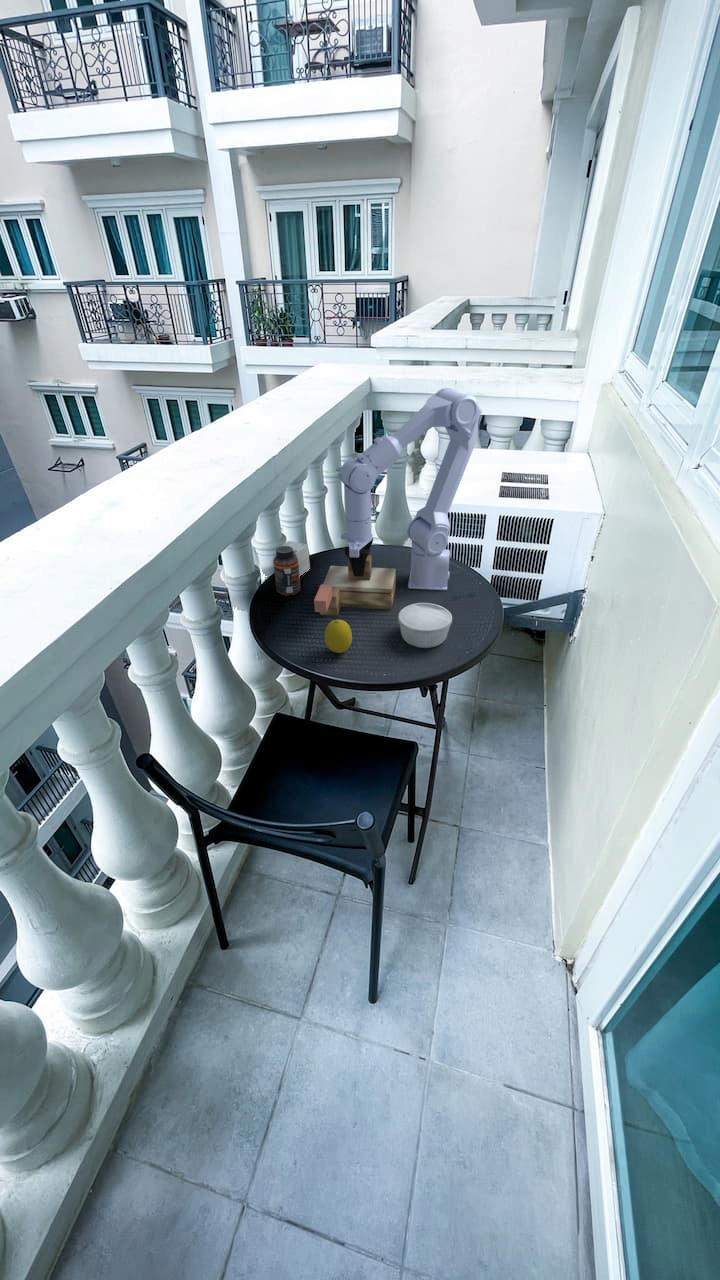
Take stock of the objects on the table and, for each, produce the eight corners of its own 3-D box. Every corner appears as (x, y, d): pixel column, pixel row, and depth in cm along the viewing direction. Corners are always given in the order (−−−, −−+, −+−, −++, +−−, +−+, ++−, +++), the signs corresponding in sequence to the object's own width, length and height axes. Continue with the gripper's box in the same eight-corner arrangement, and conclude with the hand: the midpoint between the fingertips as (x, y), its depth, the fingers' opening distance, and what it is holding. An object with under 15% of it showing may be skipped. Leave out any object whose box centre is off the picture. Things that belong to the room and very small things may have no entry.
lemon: (349, 661, 110) (348, 628, 105) (323, 659, 110) (320, 626, 106) (355, 646, 114) (353, 613, 109) (329, 643, 115) (326, 611, 110)
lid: (395, 572, 131) (396, 549, 128) (391, 592, 123) (392, 569, 120) (330, 569, 133) (329, 546, 130) (322, 589, 125) (320, 565, 122)
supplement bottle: (296, 598, 131) (292, 555, 125) (273, 596, 132) (267, 553, 126) (303, 586, 136) (300, 544, 129) (281, 584, 137) (276, 543, 130)
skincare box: (290, 565, 146) (288, 540, 141) (310, 569, 143) (308, 543, 139) (278, 575, 141) (275, 549, 137) (299, 579, 139) (296, 553, 135)
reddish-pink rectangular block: (332, 596, 121) (332, 584, 119) (326, 612, 115) (325, 601, 114) (321, 595, 121) (320, 584, 120) (314, 611, 116) (314, 600, 114)
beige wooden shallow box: (395, 588, 134) (395, 570, 131) (389, 618, 122) (389, 599, 119) (331, 585, 136) (330, 567, 133) (320, 614, 124) (318, 595, 122)
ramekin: (452, 625, 120) (454, 604, 117) (448, 654, 111) (450, 632, 108) (401, 620, 122) (402, 600, 119) (394, 648, 113) (394, 627, 110)
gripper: (345, 504, 126) (348, 557, 133) (334, 529, 114) (337, 586, 122) (376, 505, 125) (376, 558, 132) (367, 530, 113) (368, 587, 121)
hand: (359, 572), depth 127 cm, fingers closed on lid, 3 cm apart
